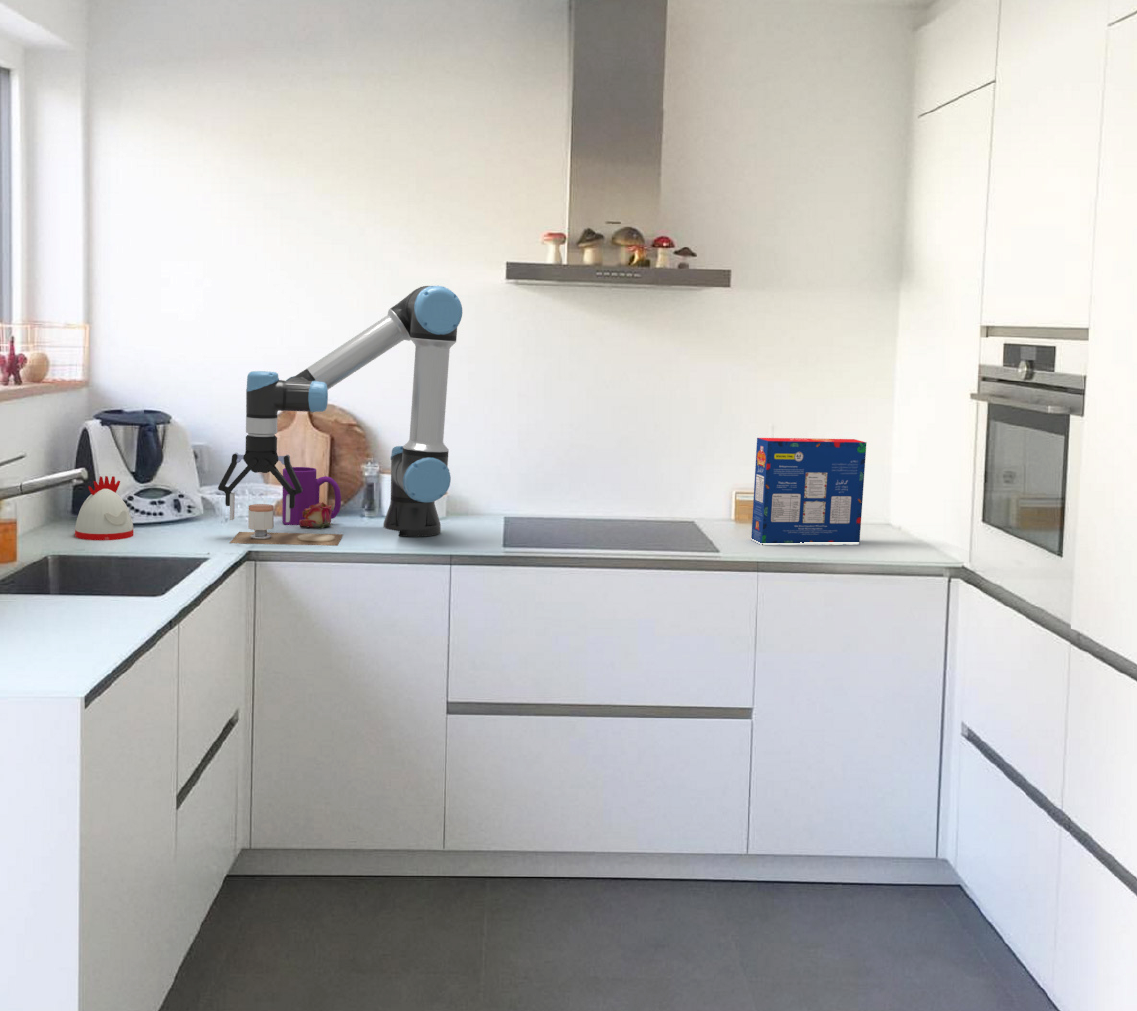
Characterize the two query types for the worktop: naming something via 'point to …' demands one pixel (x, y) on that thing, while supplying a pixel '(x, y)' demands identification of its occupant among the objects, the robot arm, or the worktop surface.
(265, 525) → the cap
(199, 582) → the worktop surface
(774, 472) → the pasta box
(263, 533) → the post
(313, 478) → the mug
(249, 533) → the board
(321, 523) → the flower
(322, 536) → the coaster
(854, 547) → the worktop surface
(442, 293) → the robot arm
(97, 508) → the kitchen timer
